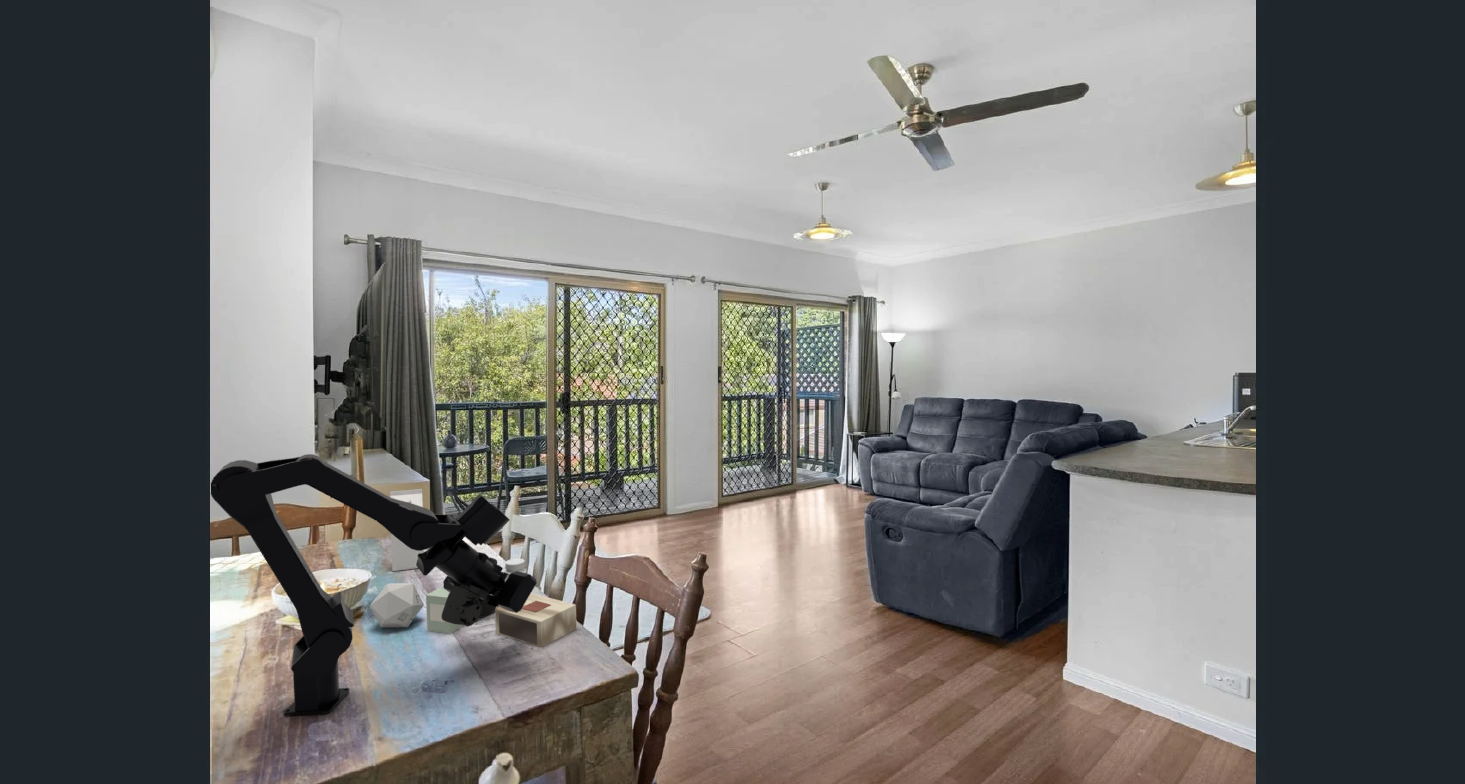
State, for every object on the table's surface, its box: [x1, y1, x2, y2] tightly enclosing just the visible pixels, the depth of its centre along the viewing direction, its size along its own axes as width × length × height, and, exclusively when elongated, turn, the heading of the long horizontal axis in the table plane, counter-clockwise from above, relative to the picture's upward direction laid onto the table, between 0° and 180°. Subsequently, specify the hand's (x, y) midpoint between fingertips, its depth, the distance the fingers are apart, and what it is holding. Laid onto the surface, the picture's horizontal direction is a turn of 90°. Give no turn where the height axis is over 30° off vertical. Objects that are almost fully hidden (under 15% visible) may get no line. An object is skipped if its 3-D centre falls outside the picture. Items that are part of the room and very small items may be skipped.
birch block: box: [494, 592, 577, 648], centre depth 125 cm, size 5×12×9 cm
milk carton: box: [389, 488, 425, 572], centre depth 163 cm, size 7×7×19 cm
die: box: [369, 582, 425, 629], centre depth 128 cm, size 8×9×10 cm
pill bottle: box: [503, 557, 528, 574], centre depth 141 cm, size 5×5×8 cm
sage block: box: [425, 585, 464, 634], centre depth 127 cm, size 5×5×7 cm
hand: (516, 605), depth 121 cm, fingers closed
